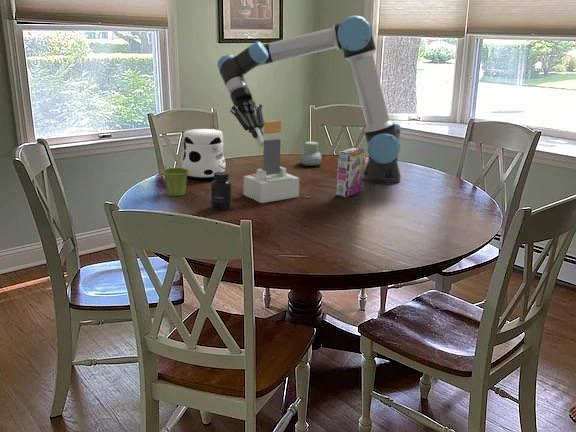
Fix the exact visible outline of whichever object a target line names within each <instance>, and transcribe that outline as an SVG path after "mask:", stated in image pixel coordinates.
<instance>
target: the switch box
mask: <svg viewBox="0 0 576 432" xmlns="http://www.w3.org/2000/svg"><path fill="white" fill-rule="evenodd" d="M243 195H244V196H246V197H247V198H250V199H251V198H252V199H251V200H253V199H254V201H256V202H258V203H259V204H264V203H265V204H266V203H269V202H270V203H271V202H275V201H283V200H288V199H294V198H299V196H300V177H298V176H295V175H293V174H290V173H287V168H286V167H283V166H281V165H280V173H279V174H273V175H266V171H265V170H263V168H257V169H256V172H255V173H251V174H249V175H244V176H243Z"/></svg>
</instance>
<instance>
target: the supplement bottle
mask: <svg viewBox="0 0 576 432" xmlns="http://www.w3.org/2000/svg"><path fill="white" fill-rule="evenodd" d="M229 178H230V177H229V173H228V172H227V171H225V172H215V173H214V178H213V179H214V180H212V181H211V182H210V207H211V209H212V208H213V210H214V209H217V210H216V211H227V210H226V209H228V210H230V209H231V208H232V182H231V181H230V180H229Z"/></svg>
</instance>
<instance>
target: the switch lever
mask: <svg viewBox="0 0 576 432" xmlns="http://www.w3.org/2000/svg"><path fill="white" fill-rule="evenodd" d="M278 133H282V121H281V120H279V119H278V120H268V121H267V120H264V126H263V134H268V135H269V134H278ZM262 157H263V162H262V163H263V168H262V170H265V171H266V175H273V174H279V173H280V166H281V138H273V139H272V138H271V139H270V138H269V139H264V145H263V156H262Z"/></svg>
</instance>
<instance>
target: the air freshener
mask: <svg viewBox="0 0 576 432" xmlns="http://www.w3.org/2000/svg"><path fill="white" fill-rule="evenodd" d="M300 162H301V163H300V164H302V165H303V166H305V167H306V166H307V167H316V166H319V165H320V164H322V153H321V152H319V143H318V142H317V141H306V142H305V143H304V150H303V151H302V152H301V153H300Z"/></svg>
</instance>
